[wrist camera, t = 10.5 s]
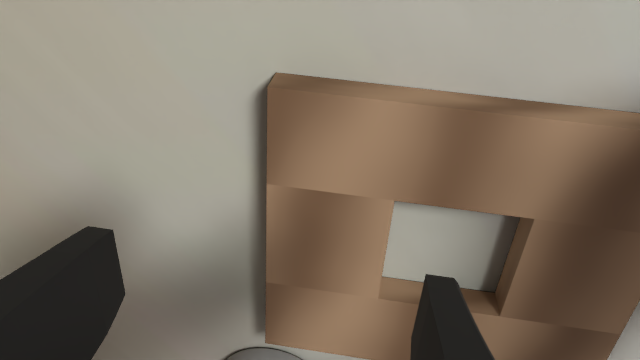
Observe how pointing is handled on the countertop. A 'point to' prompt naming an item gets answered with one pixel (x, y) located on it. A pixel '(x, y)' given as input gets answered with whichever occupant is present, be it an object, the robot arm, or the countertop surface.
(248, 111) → the countertop surface
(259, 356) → the travel mug
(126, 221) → the countertop surface
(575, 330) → the pocket tray
